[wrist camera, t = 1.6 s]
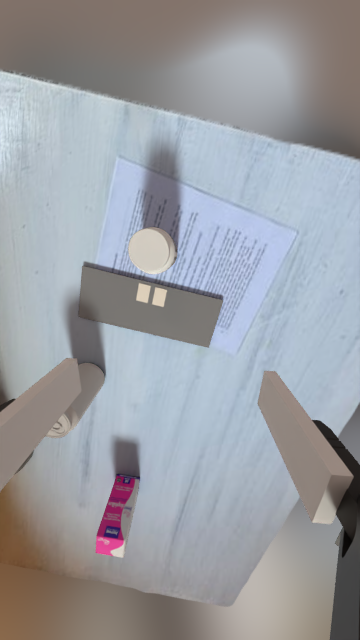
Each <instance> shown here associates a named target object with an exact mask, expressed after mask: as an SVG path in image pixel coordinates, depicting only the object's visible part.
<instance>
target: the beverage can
mask: <svg viewBox="0 0 360 640" xmlns="http://www.w3.org/2000/svg"><path fill="white" fill-rule="evenodd" d="M78 369H79V376H80V383H81V390H82V391H81V392H80V394H79V395H78V396H77V397H76V399H75V400H74V401H73V402H72V404H71V405H70V406H69V407H68V408H67V410H66V411H65V412H64V413H63V415H62V416H61V417H60V418H59V420H58V421H57V422H56V423H55V425H54V426H53V427H52V428H51V429H50V431H49V432H48V433H47V434H46V436H47V437H51V438H60V437H63V436H65V435H67V434H68V433H69V431H71V430H73V429H74V428H75V427H76V425H77V424H78V422H79V421H80V419H81V418H82V416H83V415H84V413H85V412H86V410H87V409H88V407H89V406H90V404H91V403H92V401H93V399H94V398H95V396H96V395H97V393H98V392H99V390H100V389H101V387H102V386H103V384H104V381H105V377H104V373H103V372H102V370H101V369H100V368H99V367H98V366H96V365H94V364H91V363H81V364H79V365H78Z"/></svg>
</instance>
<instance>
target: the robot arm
mask: <svg viewBox="0 0 360 640" xmlns="http://www.w3.org/2000/svg"><path fill="white" fill-rule="evenodd" d="M81 391H82V390H81V383H80V376H79V369H78V362H77V359H73V358H66V359H65V360H64V361H62V362H61V363H60V364H59V365H57V366H56V367H55V368H54V369H52V370H51V371H50V372H49V373H48V374H46V375H45V376H44V377H43V378H41V379H40V380H39V381H38V382H37V383H35V384H34V385H33V386H32V387H30V388H29V389H28V390H27V391H26V392H24V393H23V394H22V395H21V396H19V397H18V398H17V399H12V400H10V401H8V402H6V403H4V404H3V405H1V406H0V491H1V490H2V489H3V487H4V486H5V485H6V484H7V483H8V481H9V480H10V479H11V478H12V476H13V475H15V474H16V473H17V472H19V471H20V470H21V469H22V468H23V467H24V466H25V465H26V463H27V462H28V461H29V460H30V458H31V457H32V455H33V450H34V449H35V448H36V447H37V445H38V444H39V443H40V442H41V441H42V439H43V438H44V437H45V436H46V434H47V433H48V432H49V431H50V429H51V428H52V427H53V426H54V425H55V423H56V422H57V421H58V420H59V418H60V417H61V416H62V415H63V413H64V412H65V411H66V410H67V408H68V407H69V406H70V405H71V404H72V402H73V401H74V400H75V399H76V397H77V396H78V395H79V394H80V392H81ZM258 405H259V408H260V410H261V412H262V414H263V416H264V419H265V421H266V423H267V425H268V427H269V429H270V432H271V434H272V436H273V438H274V440H275V443H276V445H277V447H278V449H279V451H280V453H281V456H282V458H283V460H284V462H285V464H286V467H287V469H288V471H289V473H290V475H291V478H292V480H293V482H294V484H295V486H296V488H297V491H298V493H299V495H300V497H301V499H302V502H303V503H304V506H305V508H306V510H307V512H308V514H309V517H310V519H311V521H312V522H313V523H324V524H332V522H333V520H334V518H335V516H336V515H337V517H338V519H339V520H340V522H341V524H342V526H343V528H342V530H341V532H340V534H339V536H338V538H337V540H336V542H335V544H336V545H337V546H339V554H338V564H337V573H336V583H335V593H334V604H333V613H332V623H331V632H330V640H360V465H359V464H358V462H357V461H356V460H355V459H354V457H353V456H352V455H351V454H350V452H349V451H348V450H347V449H345V446H344V445H343V444H342V443H341V441H339V439H338V438H337V436H336V435H335V434H334V433H333V431H332V430H331V429H330V428H329V427H327V426H326V425H325V424H324V423H322V422H321V421H319V420H311V418H310V417H309V416H308V414H307V413H306V412H305V410H304V409H303V408H302V406H301V405H300V404H299V402H298V401H297V400H296V398H295V397H294V395H293V394H292V393H291V391H290V390H289V389H288V387H287V386H286V385H285V383H284V382H283V381H282V379H281V378H280V377H279V375H278V374H277V373H276V372H275V371H264V375H263V380H262V385H261V389H260V394H259V399H258Z"/></svg>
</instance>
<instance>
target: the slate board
mask: <svg viewBox="0 0 360 640" xmlns="http://www.w3.org/2000/svg"><path fill="white" fill-rule="evenodd" d="M222 303H223V300H221V299H217V298H213V297H209V296H205V295H201V294H197V293H193V292H189V291H184V290H180V289H176V288H172V287H168V286H164V285H160V284H156V283H152V282H148V281H144V280H140V279H136V278H131V277H127V276H123V275H119V274H115V273H111V272H107V271H103V270H99V269H95V268H91V267H87V266H82V277H81V290H80V304H79V317H81V318H85V319H89V320H94V321H98V322H102V323H106V324H111V325H115V326H119V327H123V328H127V329H132V330H136V331H140V332H144V333H149V334H153V335H157V336H161V337H166V338H170V339H174V340H178V341H183V342H187V343H191V344H195V345H200V346H204V347H208V348H209V345H210V341H211V338H212V335H213V332H214V329H215V326H216V322H217V319H218V316H219V313H220V310H221V307H222Z"/></svg>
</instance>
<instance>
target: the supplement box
mask: <svg viewBox="0 0 360 640" xmlns="http://www.w3.org/2000/svg"><path fill="white" fill-rule="evenodd" d="M139 482H140V477H132V476H126V475H121V474H117V476H116V479H115V482H114V485H113V488H112V491H111V494H110V497H109V500H108V503H107V506H106V509H105V512H104V515H103V518H102V521H101V524H100V527H99V530H98V533H97V540H96V553H99V554H105V555H111V556H117V557H124V554H125V549H126V545H127V540H128V536H129V531H130V527H131V522H132V518H133V513H134V509H135V504H136V500H137V495H138V489H139Z"/></svg>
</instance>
